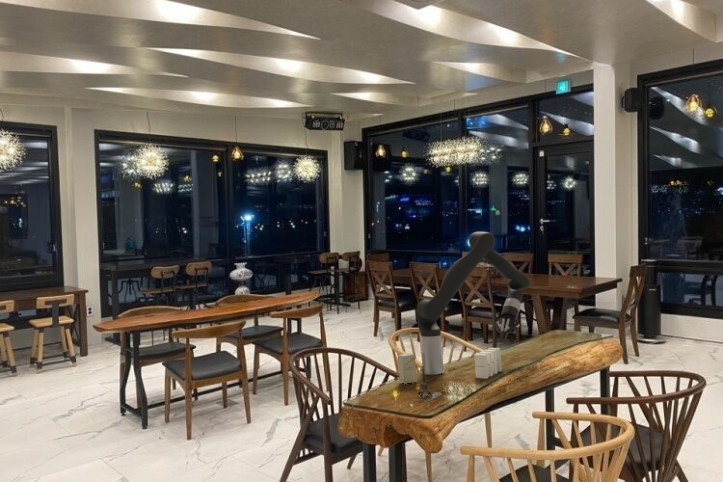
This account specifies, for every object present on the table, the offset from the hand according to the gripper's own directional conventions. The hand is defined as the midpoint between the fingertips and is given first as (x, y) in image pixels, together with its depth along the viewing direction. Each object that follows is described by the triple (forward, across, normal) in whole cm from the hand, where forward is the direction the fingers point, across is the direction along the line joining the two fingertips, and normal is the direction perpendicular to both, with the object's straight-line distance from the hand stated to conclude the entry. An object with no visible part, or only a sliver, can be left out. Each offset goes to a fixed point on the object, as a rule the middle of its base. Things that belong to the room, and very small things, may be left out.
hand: (502, 339), depth 259 cm
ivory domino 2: (+22, 0, -4) cm, 22 cm away
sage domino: (+15, 0, +2) cm, 15 cm away
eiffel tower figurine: (+49, -8, -31) cm, 58 cm away
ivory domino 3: (+18, 0, -1) cm, 18 cm away
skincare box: (+39, -25, -21) cm, 51 cm away
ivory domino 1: (+25, 0, -8) cm, 26 cm away
